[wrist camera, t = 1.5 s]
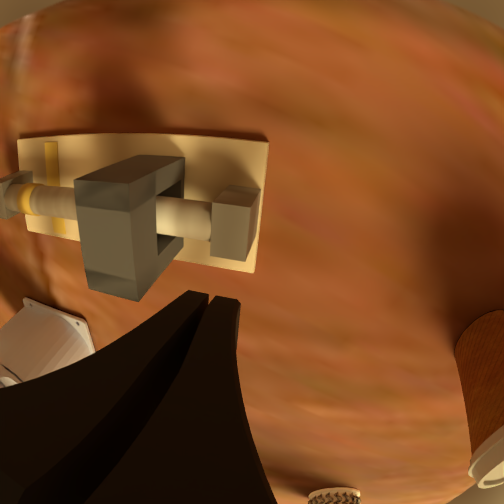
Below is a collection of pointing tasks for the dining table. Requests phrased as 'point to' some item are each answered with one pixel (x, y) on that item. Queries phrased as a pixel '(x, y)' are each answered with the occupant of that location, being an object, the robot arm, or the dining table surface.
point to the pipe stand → (167, 208)
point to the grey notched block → (127, 223)
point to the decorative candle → (335, 496)
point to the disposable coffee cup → (484, 395)
